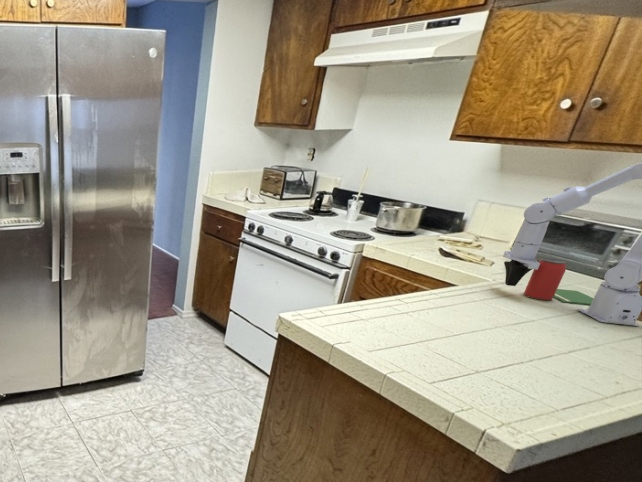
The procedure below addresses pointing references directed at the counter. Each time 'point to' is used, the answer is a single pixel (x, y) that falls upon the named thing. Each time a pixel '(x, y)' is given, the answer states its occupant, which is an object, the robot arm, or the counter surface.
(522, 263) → the robot arm
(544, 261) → the beer can
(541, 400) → the counter surface
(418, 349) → the counter surface
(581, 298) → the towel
